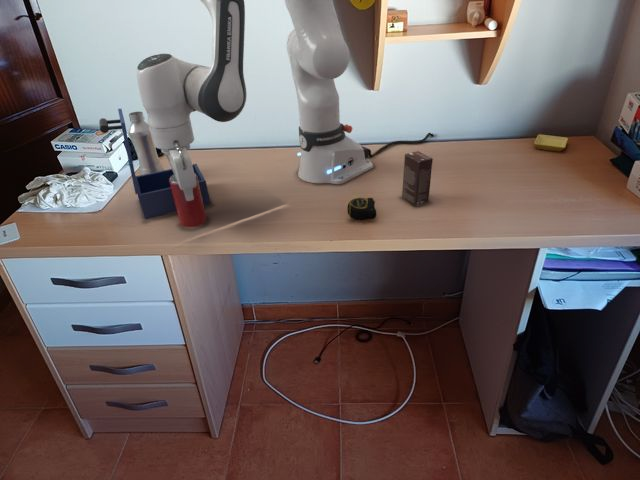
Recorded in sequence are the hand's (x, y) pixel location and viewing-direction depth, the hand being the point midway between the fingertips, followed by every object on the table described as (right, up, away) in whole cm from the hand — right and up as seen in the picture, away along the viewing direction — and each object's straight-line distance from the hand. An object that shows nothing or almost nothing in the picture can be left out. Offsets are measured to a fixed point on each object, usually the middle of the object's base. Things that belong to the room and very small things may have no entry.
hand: (186, 191), depth 106 cm
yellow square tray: (+103, +17, +33) cm, 109 cm away
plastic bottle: (-18, +6, +28) cm, 33 cm away
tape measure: (+43, -6, +4) cm, 43 cm away
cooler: (-7, -2, +14) cm, 16 cm away
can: (0, -7, +5) cm, 9 cm away
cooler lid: (-15, +10, +3) cm, 18 cm away
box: (+56, -2, +9) cm, 57 cm away
